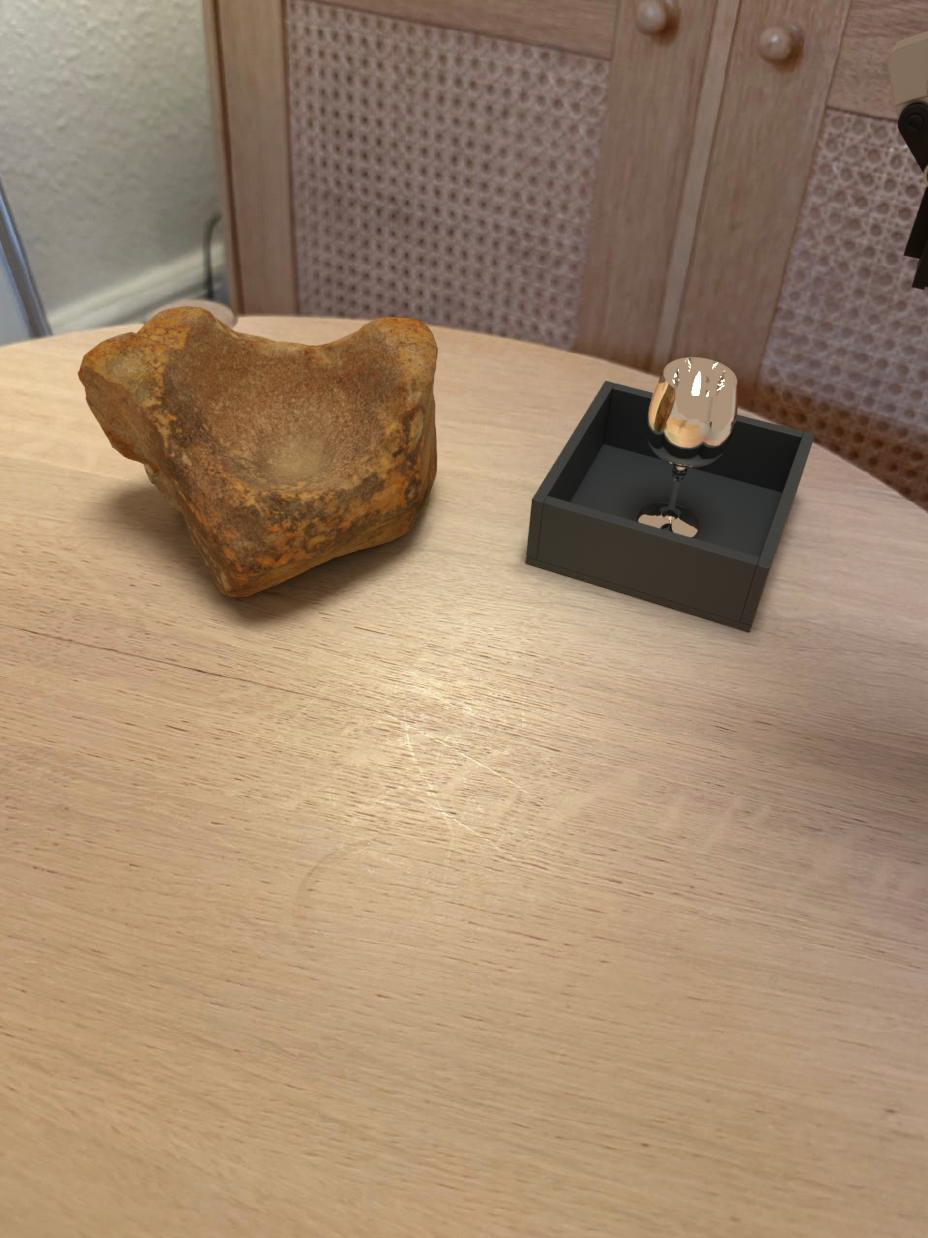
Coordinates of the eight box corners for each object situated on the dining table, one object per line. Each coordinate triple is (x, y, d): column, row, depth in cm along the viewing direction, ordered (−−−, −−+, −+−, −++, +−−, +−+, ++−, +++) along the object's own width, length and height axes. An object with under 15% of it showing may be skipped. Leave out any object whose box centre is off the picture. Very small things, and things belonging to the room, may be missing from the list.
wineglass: (678, 561, 74) (713, 413, 65) (611, 522, 76) (636, 376, 68) (724, 522, 77) (763, 377, 68) (658, 487, 80) (688, 342, 71)
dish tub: (795, 496, 80) (815, 433, 76) (749, 632, 70) (769, 568, 66) (596, 441, 84) (605, 379, 80) (525, 563, 74) (531, 498, 70)
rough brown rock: (93, 645, 68) (42, 467, 57) (112, 468, 79) (72, 287, 67) (457, 625, 72) (478, 453, 60) (428, 458, 82) (441, 285, 71)
